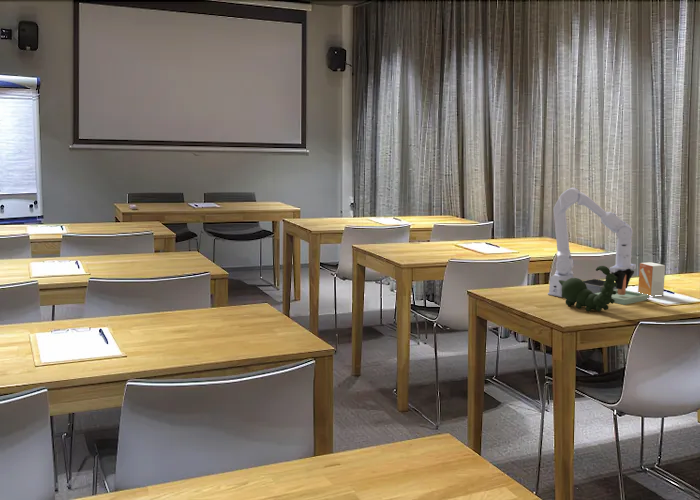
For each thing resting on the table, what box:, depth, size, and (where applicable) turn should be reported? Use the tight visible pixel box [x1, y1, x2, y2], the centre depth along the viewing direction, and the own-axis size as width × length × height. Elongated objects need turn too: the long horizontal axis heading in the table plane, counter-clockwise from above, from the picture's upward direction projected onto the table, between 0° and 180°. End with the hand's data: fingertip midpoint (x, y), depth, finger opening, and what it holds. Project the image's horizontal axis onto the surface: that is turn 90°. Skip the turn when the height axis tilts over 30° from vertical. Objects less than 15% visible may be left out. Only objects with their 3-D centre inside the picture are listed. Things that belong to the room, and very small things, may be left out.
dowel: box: [617, 275, 627, 295], centre depth 292 cm, size 3×3×8 cm
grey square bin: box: [582, 278, 617, 294], centre depth 309 cm, size 13×13×4 cm
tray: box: [595, 289, 650, 306], centre depth 293 cm, size 16×14×2 cm
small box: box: [637, 261, 666, 296], centre depth 300 cm, size 8×6×13 cm
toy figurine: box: [559, 265, 617, 312], centre depth 275 cm, size 9×19×25 cm
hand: (621, 288), depth 292 cm, fingers closed on dowel, 3 cm apart
